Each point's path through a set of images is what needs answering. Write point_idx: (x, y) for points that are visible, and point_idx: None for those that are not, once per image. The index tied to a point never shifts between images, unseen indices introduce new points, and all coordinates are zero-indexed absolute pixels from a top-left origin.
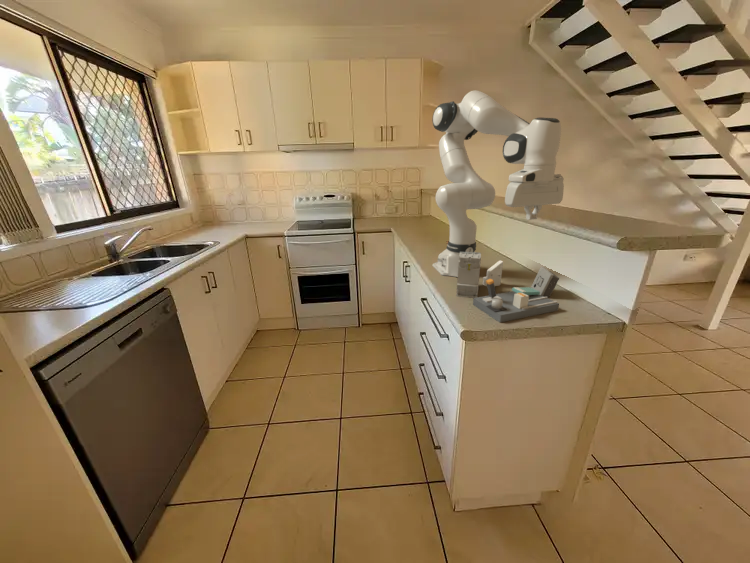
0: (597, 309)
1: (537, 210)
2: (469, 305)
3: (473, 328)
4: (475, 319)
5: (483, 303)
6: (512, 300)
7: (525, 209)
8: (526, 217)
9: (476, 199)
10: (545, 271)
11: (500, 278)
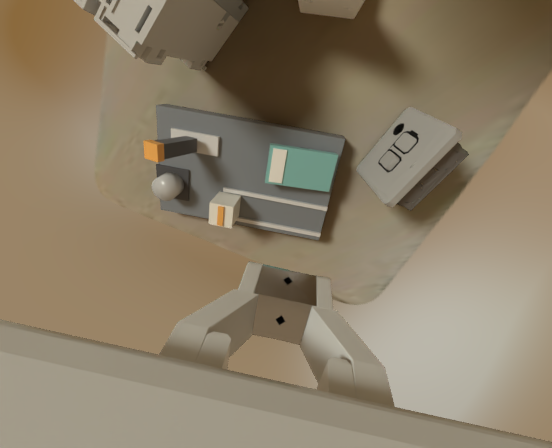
0: (391, 269)
1: (318, 375)
2: (155, 102)
3: (108, 192)
4: (130, 167)
5: None
6: (238, 173)
7: (186, 329)
8: (245, 271)
9: None
10: (416, 169)
11: (354, 12)
